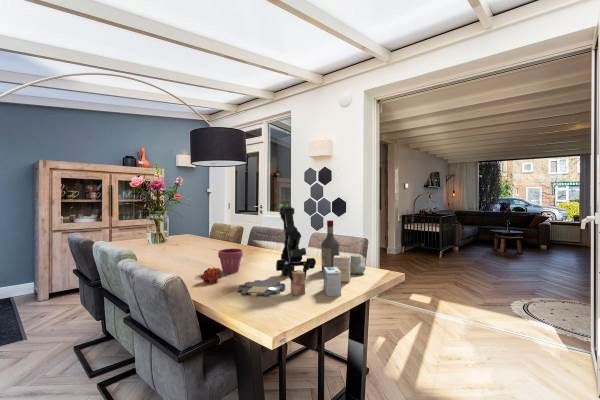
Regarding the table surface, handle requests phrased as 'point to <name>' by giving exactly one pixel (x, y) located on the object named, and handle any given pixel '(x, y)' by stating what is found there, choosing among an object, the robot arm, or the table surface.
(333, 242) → the liquor
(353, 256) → the air freshener
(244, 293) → the timing wheel
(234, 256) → the plant pot
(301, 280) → the link block
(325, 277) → the light bulb box
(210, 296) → the table surface
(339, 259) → the supplement box
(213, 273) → the dragon fruit
